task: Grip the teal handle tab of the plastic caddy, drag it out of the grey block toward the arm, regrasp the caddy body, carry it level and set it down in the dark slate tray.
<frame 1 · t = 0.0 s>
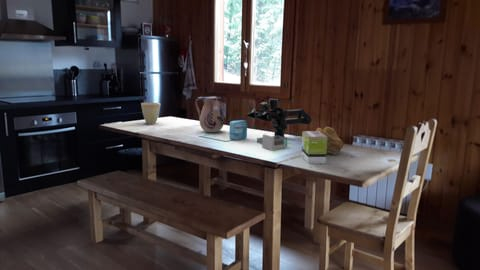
hand: (251, 116, 247), 17 cm above the table, tool horizontal, fingers open, 9 cm apart
rough brown rock: (328, 153, 224), on the table
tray: (272, 142, 248), on the table
tea box: (312, 160, 207), on the table
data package: (238, 139, 257), on the table
ceramic pitcher: (209, 131, 279), on the table
grey block: (275, 147, 233), on the table
plant pot: (151, 123, 305), on the table
caddy: (277, 143, 234), in the grey block
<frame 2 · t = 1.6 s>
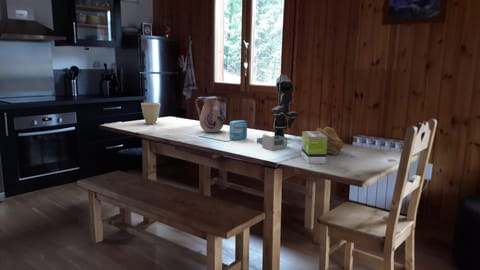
hand: (283, 127, 234), 12 cm above the table, tool pointing down, fingers open, 9 cm apart
nothing on the table moved.
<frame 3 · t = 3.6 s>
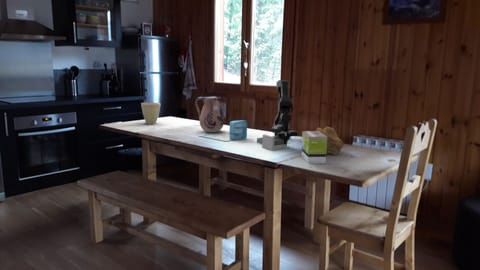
hand: (283, 145, 236), 1 cm above the table, tool pointing down, fingers closed on caddy, 2 cm apart
caddy: (277, 143, 234), in the grey block, touching gripper
everything else where it was.
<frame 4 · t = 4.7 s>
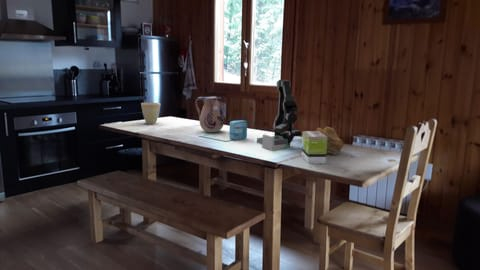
hand: (287, 144, 238), 1 cm above the table, tool pointing down, fingers closed on caddy, 2 cm apart
caddy: (281, 143, 235), on the table, touching gripper
everything else where it was.
when the fingers open (1 cm above the table, at t = 6.3 s): caddy stays where it is, on the table.
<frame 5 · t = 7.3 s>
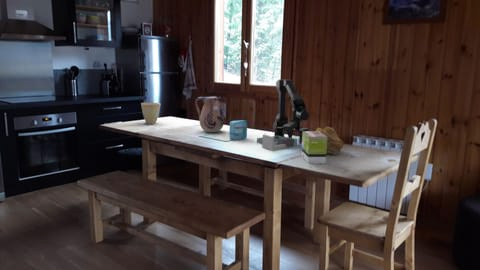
hand: (295, 142, 242), 2 cm above the table, tool pointing down, fingers open, 9 cm apart
caddy: (288, 142, 239), on the table
everything else where it was.
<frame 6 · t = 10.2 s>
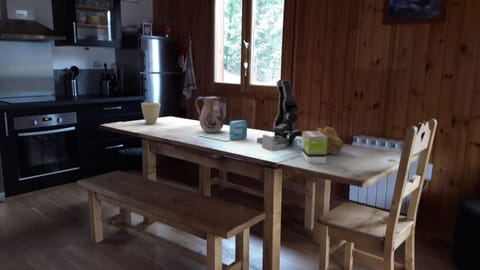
hand: (287, 144, 238), 1 cm above the table, tool pointing down, fingers closed on caddy, 4 cm apart
caddy: (288, 142, 239), on the table, touching gripper
everything else where it was.
when the fingers open (3 cm above the table, at t = 13.8 s): caddy drops 2 cm, resting on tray.
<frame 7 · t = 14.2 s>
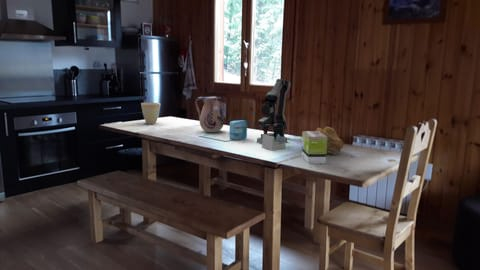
hand: (270, 137, 246), 3 cm above the table, tool pointing down, fingers open, 9 cm apart
caddy: (270, 137, 247), in the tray, point 3 cm above the table
everything else where it was.
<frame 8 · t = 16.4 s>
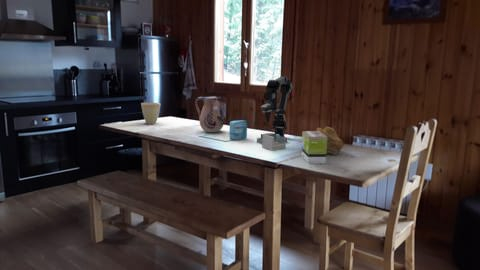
hand: (272, 123, 248), 12 cm above the table, tool pointing down, fingers open, 9 cm apart
nothing on the table moved.
at the end: caddy inside the target area on the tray (1.9 cm from its centre), point 3.3 cm above the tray's base; caddy tilted 0°; the gripper is holding nothing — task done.
